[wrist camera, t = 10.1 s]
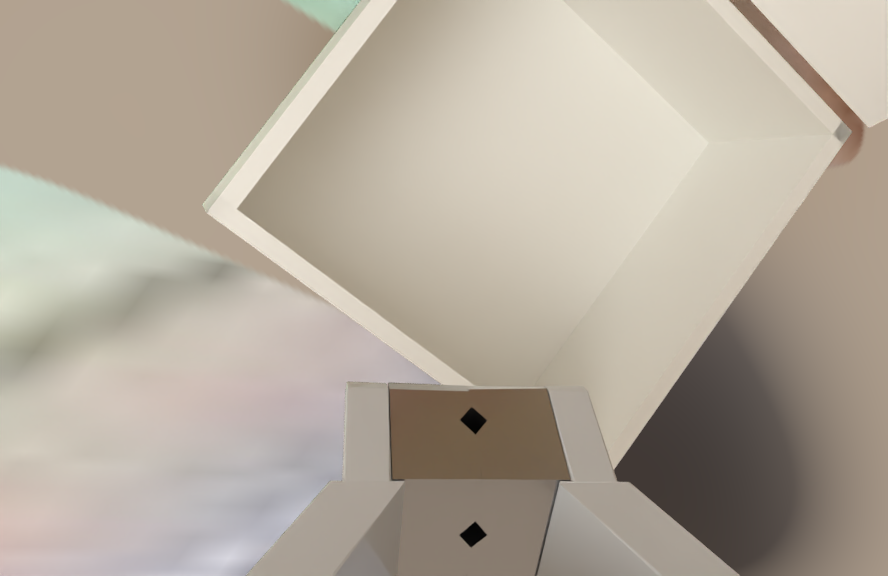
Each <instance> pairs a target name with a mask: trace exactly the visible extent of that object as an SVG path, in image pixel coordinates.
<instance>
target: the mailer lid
mask: <svg viewBox="0 0 888 576" xmlns="http://www.w3.org/2000/svg"><path fill="white" fill-rule="evenodd" d="M751 1H752V3H753V4H754V5H755V6H756V7H757V8H758V9H759V10H760V11H761V12H762V13H763V14H764V15H765V17H766V18H767V19H768V20H769V21H770V22H771V23H772V24H773V25H774V26H775V27H776V28H777V29H778V31H779V32H780V33H781V34H782V35H783V36H784V37H785V38H786V39H787V40H788V41H789V42H790V44H791V45H792V46H793V47H794V48H795V49H796V50H797V51H798V52H799V53H800V54H801V55H802V56H803V58H804V59H805V60H806V61H807V62H808V63H809V64H810V65H811V66H812V67H813V68H814V69H815V70H816V72H817V73H818V74H819V75H820V76H821V77H822V78H823V79H824V80H825V81H826V82H827V83H828V84H829V86H830V87H831V88H832V89H833V90H834V91H835V92H836V93H837V94H838V95H839V96H840V97H841V99H842V100H843V101H844V102H845V103H846V104H847V105H848V106H849V107H850V108H851V109H852V110H853V111H854V113H855V114H856V115H857V116H858V117H859V118H860V119H861V120H862V121H863V122H864V123H865V124H866V125H867V127H868V128H870V127H872V126H874V125H876V124H878V123H880V122H882V121H884V120H886V119H888V0H751Z"/></svg>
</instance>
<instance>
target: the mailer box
mask: <svg viewBox="0 0 888 576" xmlns="http://www.w3.org/2000/svg"><path fill="white" fill-rule="evenodd" d="M851 133H852V131H851V130H850V129H849V128H848V126H847V125H846V124H845V123H844V122H843V121H842V120H841V119H840V118H839V117H838V116H837V115H836V114H835V113H834V112H833V110H832V109H831V108H830V107H829V106H828V105H827V104H826V103H825V102H824V101H823V100H822V99H821V98H820V97H819V96H818V95H817V93H816V92H815V91H814V90H813V89H812V88H811V87H810V86H809V85H808V84H807V83H806V82H805V81H804V80H803V79H802V77H801V76H800V75H799V74H798V73H797V72H796V71H795V70H794V69H793V68H792V67H791V66H790V65H789V64H788V63H787V61H786V60H785V59H784V58H783V57H782V56H781V55H780V54H779V53H778V52H777V51H776V50H775V49H774V48H773V47H772V45H771V44H770V43H769V42H768V41H767V40H766V39H765V38H764V37H763V36H762V35H761V34H760V33H759V32H758V31H757V30H756V28H755V27H754V26H753V25H752V24H751V23H750V22H749V21H748V20H747V19H746V18H745V17H744V16H743V15H742V14H741V12H740V11H739V10H738V9H737V8H736V7H735V6H734V5H733V4H732V3H731V2H730V1H729V0H360V2H359V3H358V4H357V6H356V7H355V8H354V10H353V11H352V12H351V13H350V15H349V16H348V17H347V19H346V20H345V21H344V22H343V24H342V25H341V26H340V28H339V29H338V30H337V31H336V33H335V34H334V35H333V37H332V38H331V39H330V41H329V42H328V43H327V44H326V46H325V47H324V48H323V50H322V51H321V52H320V54H319V55H318V56H317V57H316V59H315V60H314V61H313V63H312V64H311V65H310V66H309V68H308V69H307V70H306V72H305V73H304V74H303V76H302V77H301V78H300V79H299V81H298V82H297V83H296V84H295V86H294V87H293V89H292V90H291V91H290V92H289V93H288V95H287V96H286V97H285V99H284V100H283V101H282V103H281V104H280V105H279V106H278V108H277V109H276V110H275V112H274V113H273V114H272V115H271V117H270V118H269V119H268V121H267V122H266V123H265V124H264V126H263V127H262V128H261V130H260V131H259V132H258V133H257V135H256V136H255V137H254V139H253V140H252V141H251V143H250V144H249V145H248V146H247V148H246V149H245V151H244V152H243V153H242V154H241V155H240V157H239V158H238V159H237V161H236V162H235V163H234V165H233V166H232V167H231V168H230V170H229V171H228V172H227V174H226V175H225V176H224V177H223V179H222V180H221V181H220V183H219V184H218V185H217V187H216V188H215V189H214V190H213V192H212V193H211V194H210V195H209V197H208V198H207V200H206V201H205V202H204V203H203V204H202V205H203V207H204V209H205V211H206V213H208V214H209V215H210V216H212V217H213V218H214V219H216V220H217V221H218V222H220V223H221V224H223V225H224V226H225V227H227V228H228V229H230V230H231V231H233V232H234V233H235V234H236V235H238V236H239V237H241V238H242V239H243V240H245V241H246V242H247V243H249V244H250V245H251V246H253V247H254V248H255V249H257V250H258V251H260V252H261V253H263V254H264V255H265V256H266V257H268V258H269V259H270V260H272V261H273V262H275V263H276V264H277V265H279V266H280V267H282V268H283V269H284V270H286V271H287V272H288V273H290V274H291V275H292V276H294V277H295V278H297V279H298V280H299V281H301V282H302V283H303V284H305V285H306V286H307V287H309V288H310V289H312V290H313V291H314V292H316V293H317V294H318V295H320V296H321V297H323V298H324V299H325V300H327V301H328V302H329V303H331V304H332V305H333V306H335V307H336V308H338V309H339V310H340V311H342V312H343V313H344V314H346V315H347V316H349V317H350V318H351V319H353V320H354V321H355V322H357V323H358V324H359V325H361V326H362V327H364V328H365V329H366V330H368V331H369V332H370V333H372V334H373V335H375V336H376V337H377V338H379V339H380V340H381V341H383V342H384V343H385V344H387V345H388V346H390V347H391V348H392V349H394V350H395V351H396V352H398V353H399V354H401V355H402V356H403V357H405V358H406V359H407V360H409V361H410V362H411V363H413V364H414V365H416V366H417V367H418V368H420V369H421V370H422V371H424V372H425V373H427V374H428V375H429V376H431V377H432V378H433V379H435V380H436V381H437V382H439V383H440V384H442V385H461V386H541V387H544V386H583V387H584V388H585V389H586V390H587V391H588V393H589V396H590V399H591V402H592V406H593V409H594V412H595V415H596V418H597V421H598V424H599V427H600V430H601V433H602V436H603V439H604V442H605V445H606V448H607V451H608V454H609V457H610V460H611V463H612V466H613V469H615V467H616V466H617V465H618V463H619V462H620V460H621V459H622V457H623V456H624V455H625V453H626V452H627V450H628V449H629V448H630V446H631V445H632V443H633V442H634V440H635V439H636V437H637V436H638V435H639V433H640V432H641V431H642V429H643V428H644V426H645V425H646V423H647V422H648V421H649V419H650V418H651V416H652V415H653V413H654V412H655V410H656V409H657V408H658V406H659V405H660V404H661V402H662V401H663V399H664V398H665V397H666V395H667V394H668V392H669V391H670V389H671V388H672V386H673V385H674V384H675V382H676V381H677V380H678V378H679V377H680V375H681V374H682V372H683V371H684V370H685V368H686V367H687V365H688V364H689V362H690V361H691V360H692V358H693V357H694V355H695V354H696V352H697V351H698V350H699V348H700V347H701V345H702V344H703V343H704V341H705V340H706V338H707V337H708V336H709V334H710V333H711V331H712V330H713V329H714V327H715V325H716V324H717V323H718V321H719V320H720V319H721V317H722V316H723V314H724V313H725V312H726V310H727V309H728V307H729V306H730V304H731V303H732V302H733V300H734V299H735V297H736V296H737V294H738V293H739V292H740V290H741V289H742V287H743V286H744V285H745V283H746V282H747V280H748V279H749V277H750V276H751V275H752V273H753V272H754V270H755V269H756V268H757V266H758V265H759V263H760V262H761V260H762V259H763V258H764V256H765V255H766V253H767V252H768V251H769V249H770V248H771V246H772V245H773V243H774V242H775V241H776V239H777V238H778V236H779V235H780V233H781V232H782V231H783V229H784V227H785V226H786V225H787V224H788V222H789V221H790V219H791V218H792V217H793V215H794V214H795V212H796V211H797V209H798V208H799V207H800V205H801V204H802V202H803V201H804V200H805V198H806V197H807V195H808V194H809V192H810V191H811V190H812V188H813V187H814V185H815V184H816V183H817V181H818V180H819V178H820V176H821V175H822V174H823V173H824V171H825V170H826V168H827V167H828V166H829V164H830V163H831V161H832V160H833V158H834V157H835V156H836V154H837V153H838V151H839V150H840V148H841V147H842V146H843V144H844V143H845V141H846V140H847V139H848V137H849V136H850V134H851Z"/></svg>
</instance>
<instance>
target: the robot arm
mask: <svg viewBox="0 0 888 576" xmlns="http://www.w3.org/2000/svg"><path fill="white" fill-rule="evenodd" d="M246 576H740V575H739V574H737V573H736V572H735V571H734V570H733V569H732V568H730V567H729V566H728V565H727V564H725V563H724V562H723V561H722V560H721V559H720V558H719V557H717V556H716V555H715V554H714V553H712V552H711V551H710V550H709V549H708V548H707V547H706V546H704V545H703V544H702V543H701V542H699V541H698V540H697V539H696V538H695V537H694V536H692V535H691V534H690V533H689V532H688V531H687V530H685V529H684V528H683V527H682V526H681V525H679V524H678V523H677V522H676V521H675V520H674V519H672V518H671V517H670V516H669V515H668V514H666V513H665V512H664V511H663V510H662V509H661V508H659V507H658V506H657V505H656V504H655V503H653V502H652V501H651V500H650V499H649V498H648V497H646V496H645V495H644V494H643V493H642V492H640V491H639V490H638V489H637V488H636V487H634V486H633V485H632V484H631V483H630V482H617V479H616V476H615V472H614V469H613V466H612V463H611V460H610V457H609V454H608V451H607V448H606V445H605V442H604V439H603V436H602V433H601V430H600V427H599V424H598V421H597V418H596V415H595V412H594V409H593V406H592V402H591V399H590V396H589V393H588V391H587V390H586V389H585V388H584V387H583V386H544V387H541V386H461V385H436V384H411V383H388V386H387V384H386V383H367V382H347V385H346V389H345V415H344V445H343V474H342V481H329V483H328V484H327V485H326V486H325V487H324V488H323V489H322V490H321V492H320V493H319V494H318V495H317V496H316V497H315V498H314V499H313V501H312V502H311V503H310V504H309V505H308V506H307V507H306V508H305V510H304V511H303V512H302V513H301V514H300V515H299V516H298V518H297V519H296V520H295V521H294V522H293V523H292V524H291V525H290V527H289V528H288V529H287V530H286V531H285V532H284V533H283V534H282V536H281V537H280V538H279V539H278V540H277V541H276V542H275V543H274V545H273V546H272V547H271V548H270V549H269V550H268V551H267V552H266V554H265V555H264V556H263V557H262V558H261V559H260V560H259V561H258V563H257V564H256V565H255V566H254V567H253V568H252V569H251V570H250V572H249V573H248V574H247V575H246Z"/></svg>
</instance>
